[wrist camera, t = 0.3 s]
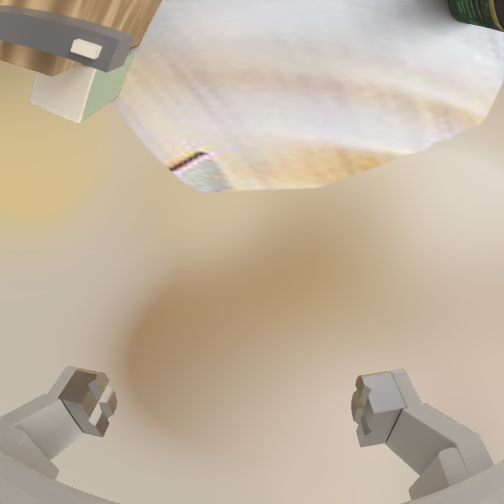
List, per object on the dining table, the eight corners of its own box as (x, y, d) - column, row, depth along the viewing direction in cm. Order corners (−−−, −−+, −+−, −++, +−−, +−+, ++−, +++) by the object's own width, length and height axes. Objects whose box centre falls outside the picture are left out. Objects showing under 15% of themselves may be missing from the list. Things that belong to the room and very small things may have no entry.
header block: (73, 79, 45) (29, 103, 35) (87, 37, 39) (40, 52, 28) (117, 97, 49) (77, 124, 38) (134, 54, 43) (93, 69, 32)
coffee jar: (452, 23, 31) (512, 37, 18) (441, -13, 26) (501, -13, 13) (487, 25, 28) (548, 43, 15) (478, -10, 23) (539, -2, 10)
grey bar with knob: (-3, 29, 16) (-26, 37, 13) (4, 5, 14) (-20, 11, 11) (123, 65, 23) (102, 74, 20) (136, 36, 21) (115, 41, 18)
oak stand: (77, 25, 37) (-20, 54, 18) (99, -26, 29) (2, -25, 10) (139, 45, 42) (51, 76, 23) (167, -9, 34) (85, -18, 16)
